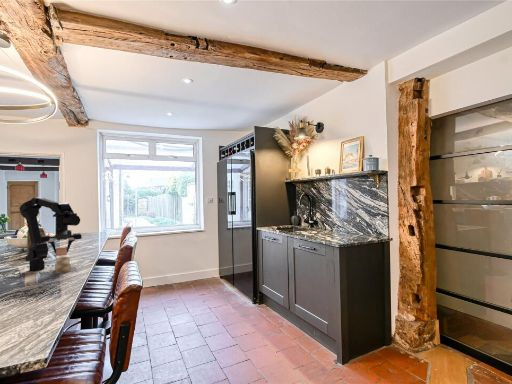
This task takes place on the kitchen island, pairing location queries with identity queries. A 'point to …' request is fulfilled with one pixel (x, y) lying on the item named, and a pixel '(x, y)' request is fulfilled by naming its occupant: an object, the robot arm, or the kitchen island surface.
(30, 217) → the robot arm
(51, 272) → the mat
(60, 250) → the peach rounded cylinder
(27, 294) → the kitchen island surface
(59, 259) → the top block
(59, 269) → the base block
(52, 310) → the kitchen island surface
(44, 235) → the block
